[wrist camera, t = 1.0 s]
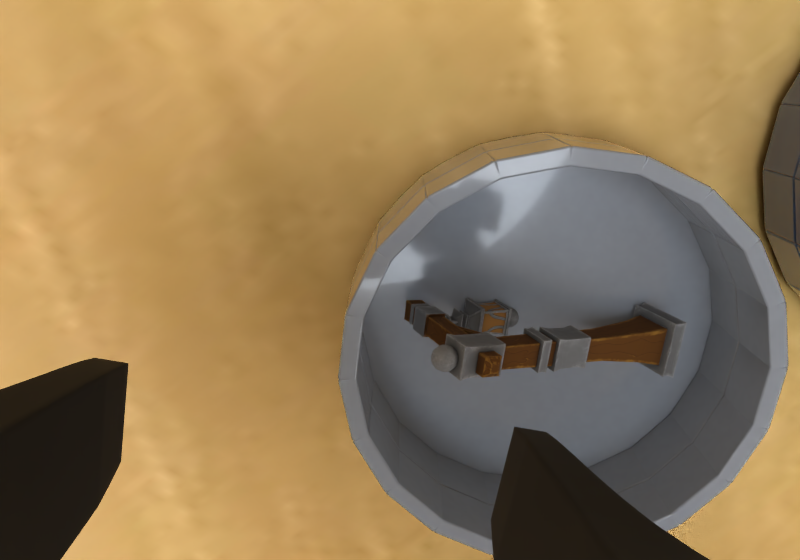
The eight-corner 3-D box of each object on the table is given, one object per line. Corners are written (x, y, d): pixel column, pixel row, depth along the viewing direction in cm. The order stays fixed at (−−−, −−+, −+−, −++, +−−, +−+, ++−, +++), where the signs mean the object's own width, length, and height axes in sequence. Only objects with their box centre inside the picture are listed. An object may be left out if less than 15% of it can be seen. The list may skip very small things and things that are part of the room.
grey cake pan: (799, 314, 23) (879, 364, 19) (529, 544, 25) (552, 629, 22) (543, 46, 20) (575, 41, 17) (273, 329, 23) (248, 382, 19)
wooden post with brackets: (381, 282, 21) (452, 339, 17) (593, 277, 25) (692, 324, 21) (375, 338, 22) (442, 405, 18) (583, 326, 25) (678, 381, 21)
